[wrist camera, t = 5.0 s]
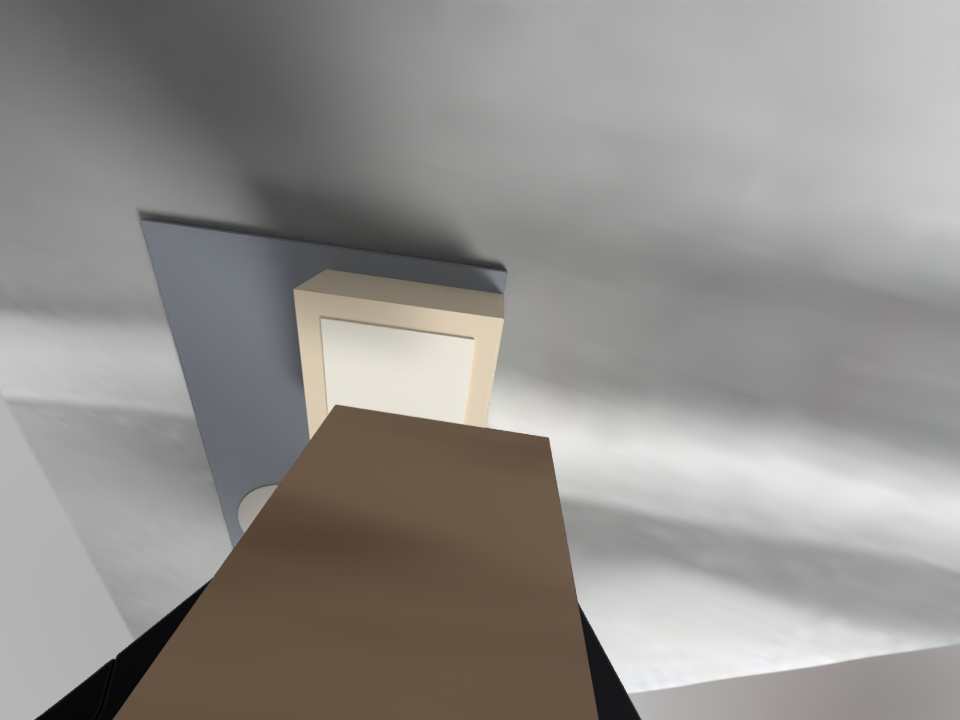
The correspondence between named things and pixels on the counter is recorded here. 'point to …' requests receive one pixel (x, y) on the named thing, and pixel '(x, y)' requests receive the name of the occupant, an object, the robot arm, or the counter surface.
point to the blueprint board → (256, 338)
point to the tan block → (389, 588)
